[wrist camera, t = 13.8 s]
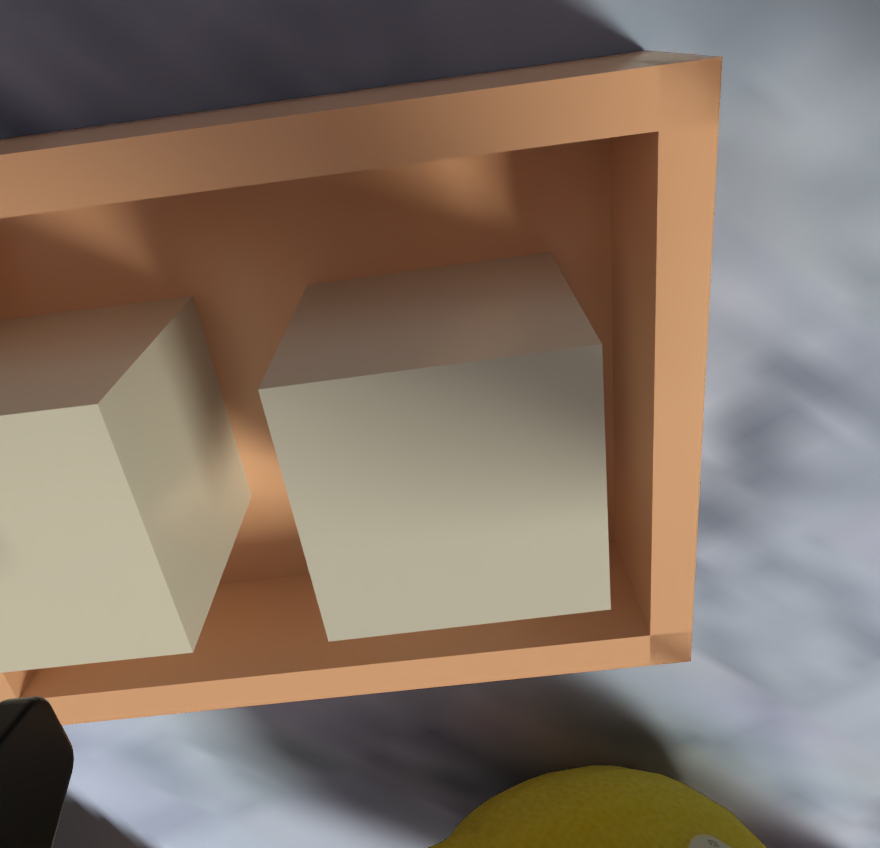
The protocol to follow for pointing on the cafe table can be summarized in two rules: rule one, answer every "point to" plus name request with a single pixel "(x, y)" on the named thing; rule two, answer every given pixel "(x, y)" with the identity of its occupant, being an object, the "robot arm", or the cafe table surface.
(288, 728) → the cafe table surface
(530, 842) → the lemon
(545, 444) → the stone
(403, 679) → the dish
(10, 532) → the cream cube
